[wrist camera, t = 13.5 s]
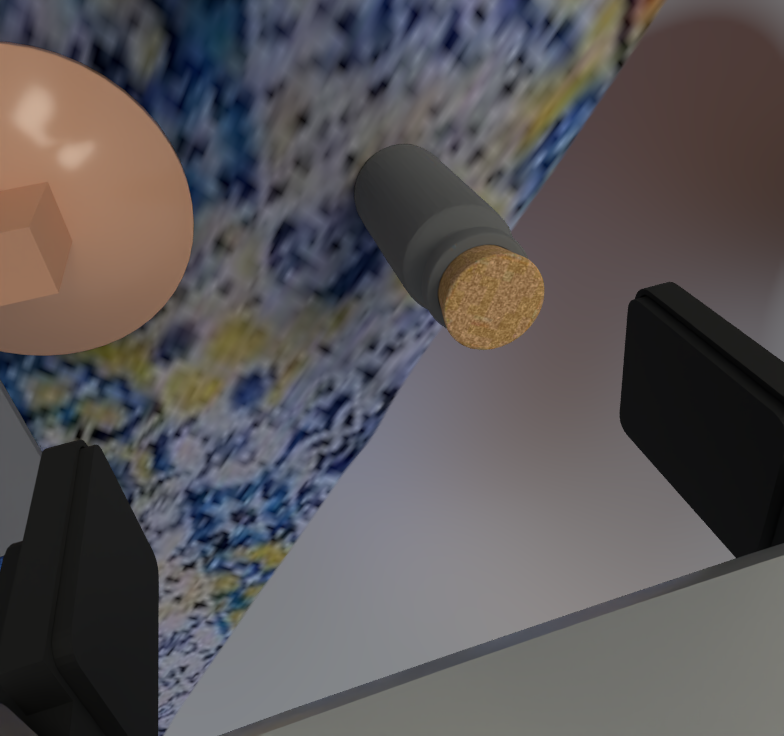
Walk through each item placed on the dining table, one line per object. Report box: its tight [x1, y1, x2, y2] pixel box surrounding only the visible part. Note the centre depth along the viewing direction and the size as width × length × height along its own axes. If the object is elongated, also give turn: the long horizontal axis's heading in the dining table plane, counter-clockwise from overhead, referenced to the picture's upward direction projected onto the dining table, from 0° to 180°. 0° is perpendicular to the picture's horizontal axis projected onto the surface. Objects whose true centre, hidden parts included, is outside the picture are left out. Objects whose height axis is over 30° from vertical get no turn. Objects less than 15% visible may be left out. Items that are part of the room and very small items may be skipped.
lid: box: [0, 42, 194, 356], centre depth 33 cm, size 16×16×7 cm
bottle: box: [354, 144, 544, 350], centre depth 36 cm, size 6×6×15 cm
